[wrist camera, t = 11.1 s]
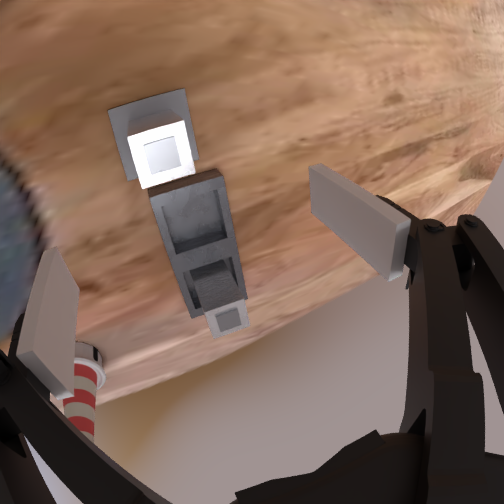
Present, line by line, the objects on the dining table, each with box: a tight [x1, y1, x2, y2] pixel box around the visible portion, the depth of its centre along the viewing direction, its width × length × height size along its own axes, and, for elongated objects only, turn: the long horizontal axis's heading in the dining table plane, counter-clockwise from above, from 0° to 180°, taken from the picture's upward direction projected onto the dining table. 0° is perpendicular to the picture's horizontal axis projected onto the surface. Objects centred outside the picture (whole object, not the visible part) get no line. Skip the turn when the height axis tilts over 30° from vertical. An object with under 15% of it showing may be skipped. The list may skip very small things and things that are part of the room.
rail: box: [148, 169, 248, 318], centre depth 43 cm, size 20×9×3 cm, turn 9°
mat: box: [108, 88, 199, 181], centre depth 34 cm, size 9×9×1 cm
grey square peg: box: [127, 109, 195, 189], centre depth 30 cm, size 5×5×10 cm
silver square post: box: [189, 259, 250, 339], centre depth 43 cm, size 5×5×10 cm
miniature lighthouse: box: [63, 342, 106, 443], centre depth 36 cm, size 9×9×30 cm
